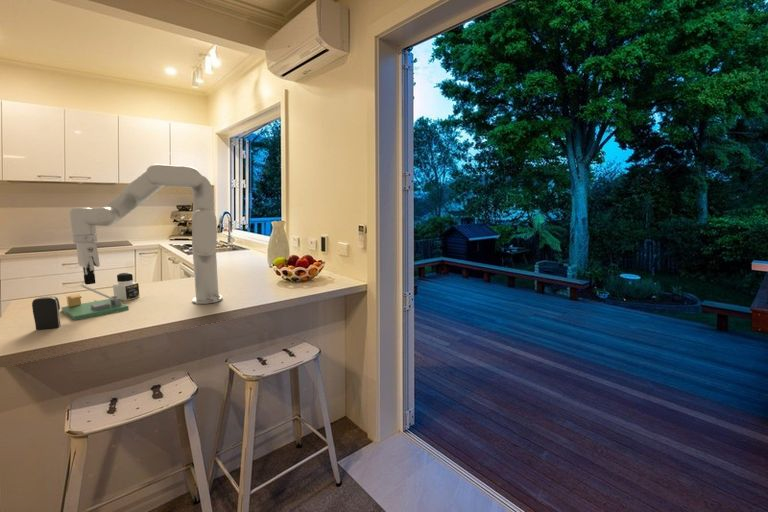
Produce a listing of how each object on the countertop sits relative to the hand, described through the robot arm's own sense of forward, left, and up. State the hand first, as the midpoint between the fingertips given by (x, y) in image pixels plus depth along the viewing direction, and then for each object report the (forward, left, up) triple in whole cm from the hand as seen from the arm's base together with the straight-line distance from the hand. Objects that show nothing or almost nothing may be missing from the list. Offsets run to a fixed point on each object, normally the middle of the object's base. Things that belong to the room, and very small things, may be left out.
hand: (90, 283), depth 151 cm
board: (+4, -2, -12) cm, 13 cm away
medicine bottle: (+14, -17, -12) cm, 25 cm away
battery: (-9, +15, -12) cm, 22 cm away
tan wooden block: (+9, +3, -10) cm, 14 cm away
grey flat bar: (0, -3, -5) cm, 6 cm away
